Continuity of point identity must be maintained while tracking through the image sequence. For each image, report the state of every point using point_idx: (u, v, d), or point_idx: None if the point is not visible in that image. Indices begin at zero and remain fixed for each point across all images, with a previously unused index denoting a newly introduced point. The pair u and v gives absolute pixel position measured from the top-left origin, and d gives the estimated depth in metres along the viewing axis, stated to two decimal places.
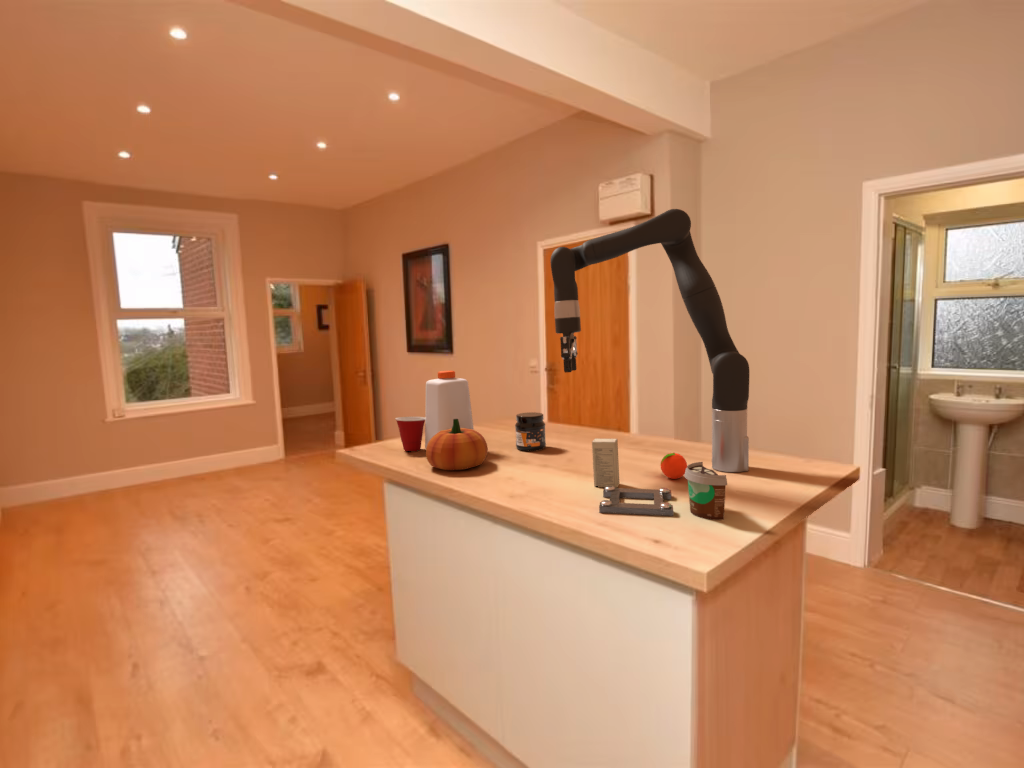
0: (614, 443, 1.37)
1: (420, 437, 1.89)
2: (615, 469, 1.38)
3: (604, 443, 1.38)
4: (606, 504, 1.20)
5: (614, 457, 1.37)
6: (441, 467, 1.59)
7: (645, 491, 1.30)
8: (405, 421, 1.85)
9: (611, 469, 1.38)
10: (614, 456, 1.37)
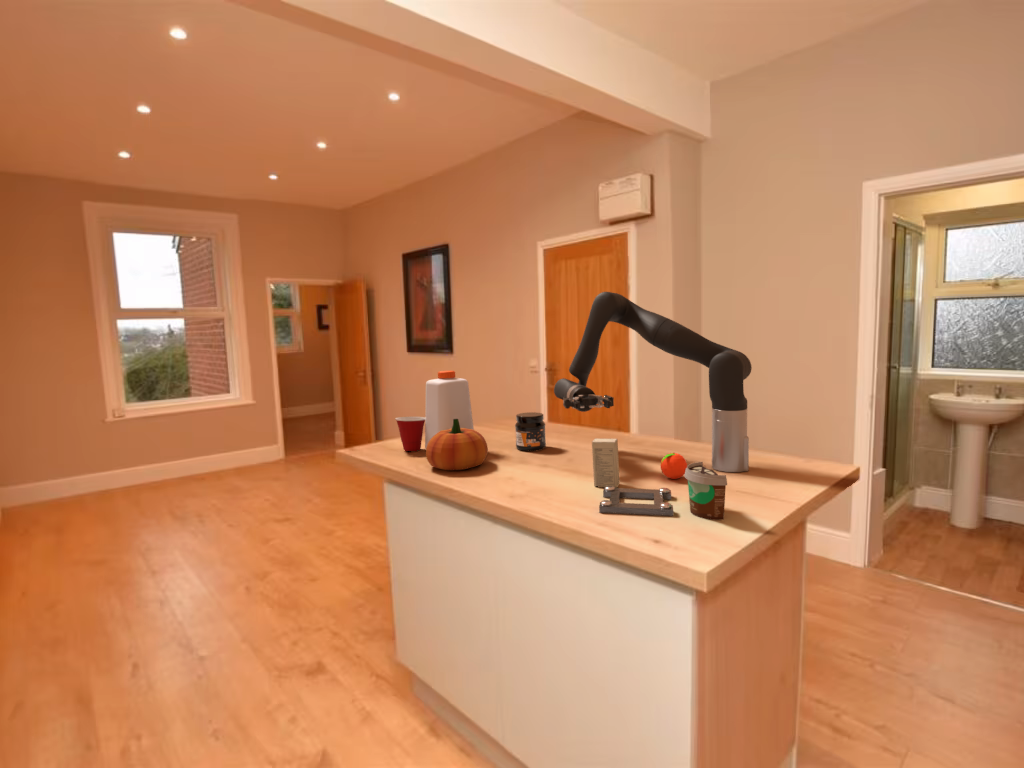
0: (614, 443, 1.37)
1: (420, 437, 1.89)
2: (615, 469, 1.38)
3: (604, 443, 1.38)
4: (606, 504, 1.20)
5: (614, 457, 1.37)
6: (441, 467, 1.59)
7: (645, 491, 1.30)
8: (405, 421, 1.85)
9: (611, 469, 1.38)
10: (614, 456, 1.37)
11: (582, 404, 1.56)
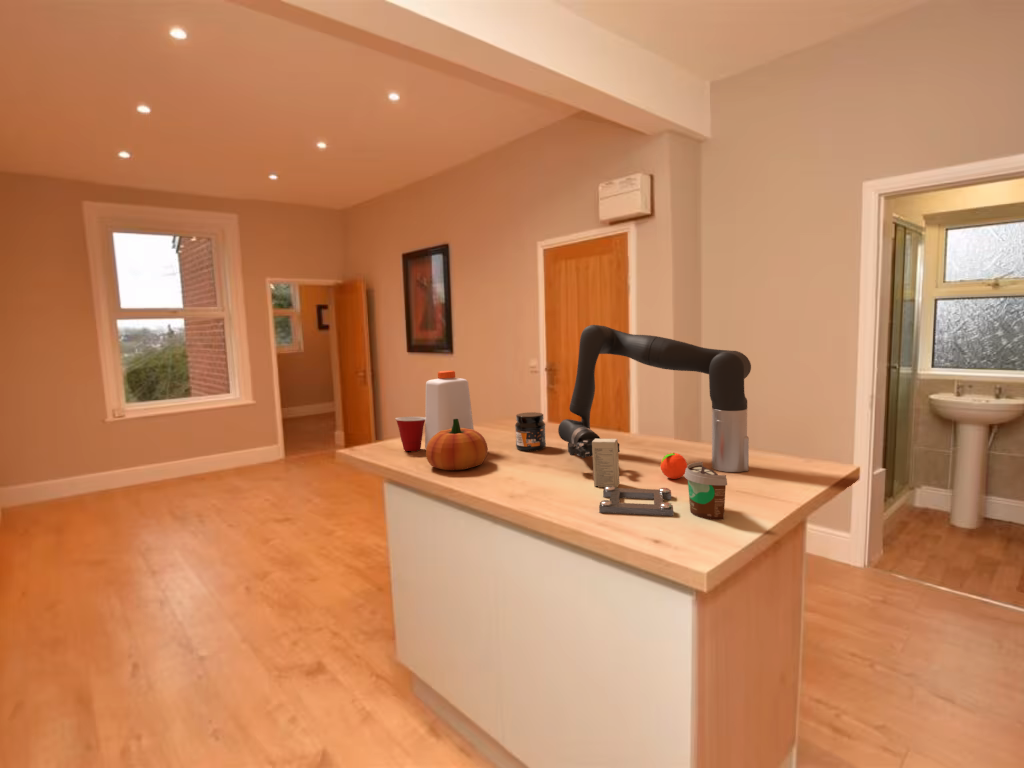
0: (614, 443, 1.37)
1: (420, 437, 1.89)
2: (615, 469, 1.38)
3: (604, 443, 1.38)
4: (606, 504, 1.20)
5: (614, 457, 1.37)
6: (441, 467, 1.59)
7: (645, 491, 1.30)
8: (405, 421, 1.85)
9: (611, 469, 1.38)
10: (614, 456, 1.37)
11: (587, 450, 1.53)
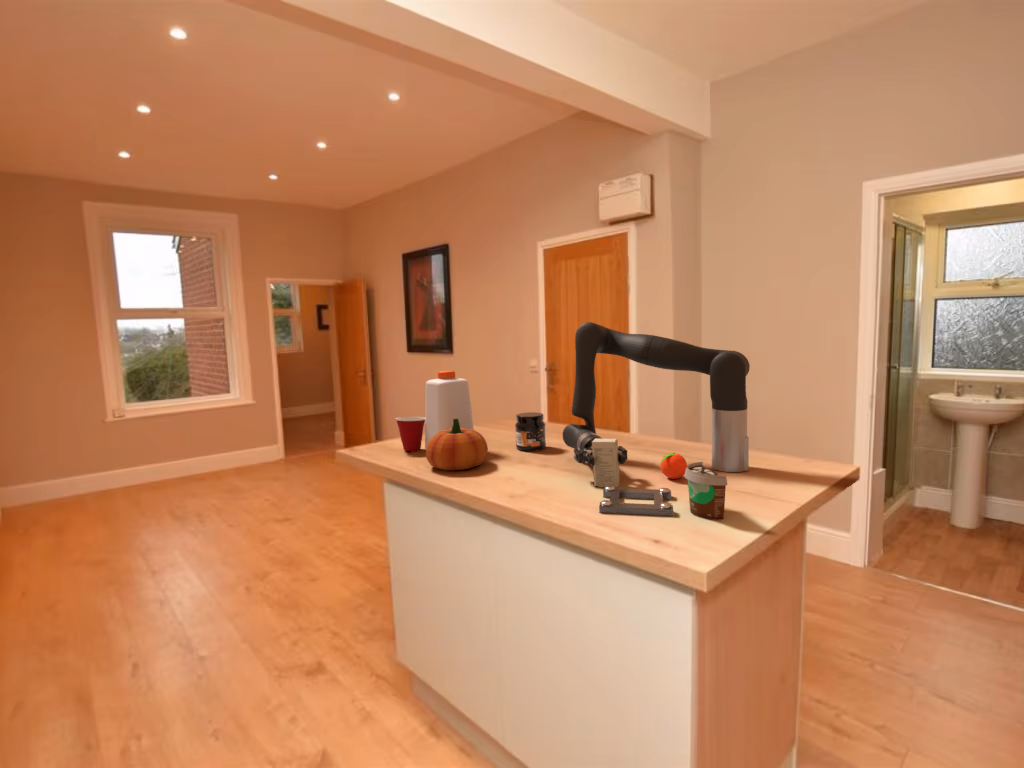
0: (614, 443, 1.37)
1: (420, 437, 1.89)
2: (615, 469, 1.38)
3: (604, 443, 1.38)
4: (606, 504, 1.20)
5: (614, 457, 1.37)
6: (441, 467, 1.59)
7: (645, 491, 1.30)
8: (405, 421, 1.85)
9: (611, 469, 1.38)
10: (614, 456, 1.37)
11: None
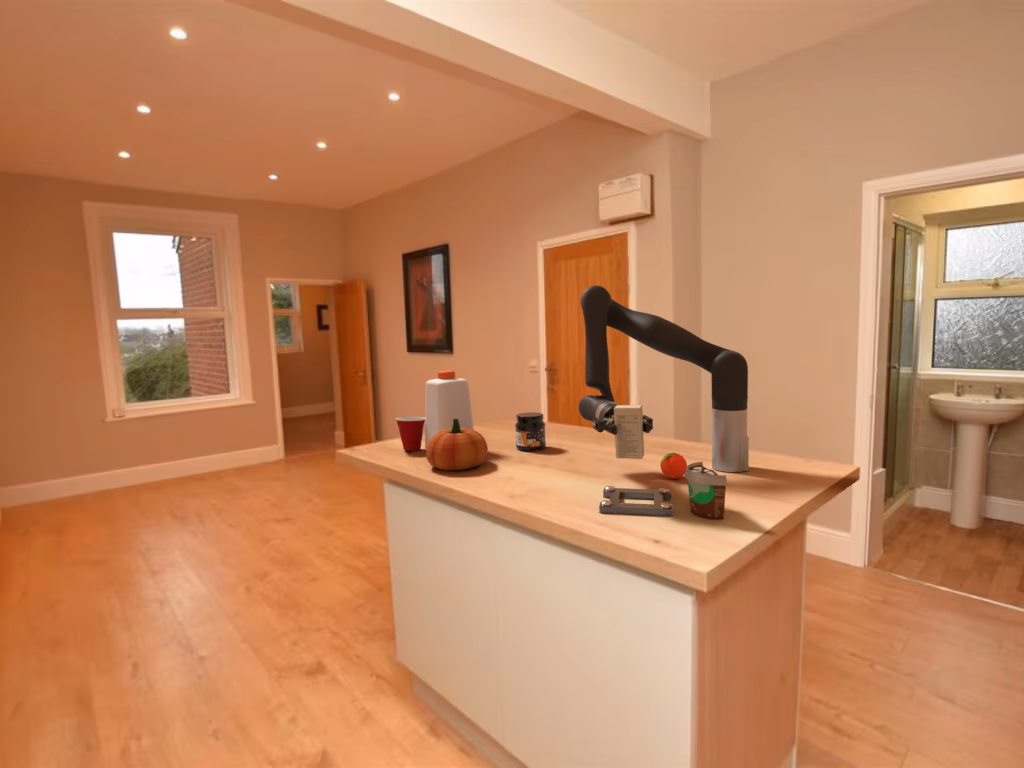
0: (639, 409, 1.23)
1: (420, 437, 1.89)
2: (640, 438, 1.23)
3: (628, 409, 1.23)
4: (606, 504, 1.20)
5: (639, 425, 1.23)
6: (441, 467, 1.59)
7: (645, 491, 1.30)
8: (405, 421, 1.85)
9: (635, 439, 1.24)
10: (639, 424, 1.23)
11: None
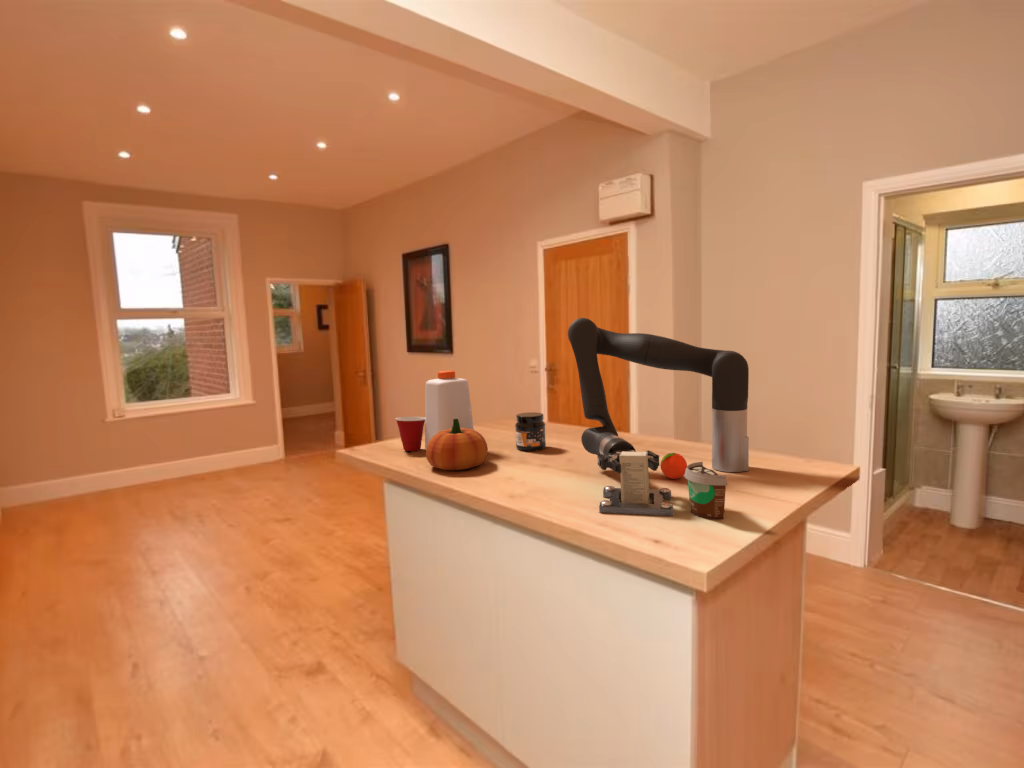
0: (645, 457, 1.22)
1: (420, 437, 1.89)
2: (646, 486, 1.22)
3: (633, 457, 1.22)
4: (606, 504, 1.20)
5: (645, 473, 1.22)
6: (441, 467, 1.59)
7: None
8: (405, 421, 1.85)
9: (641, 486, 1.23)
10: (645, 472, 1.22)
11: None
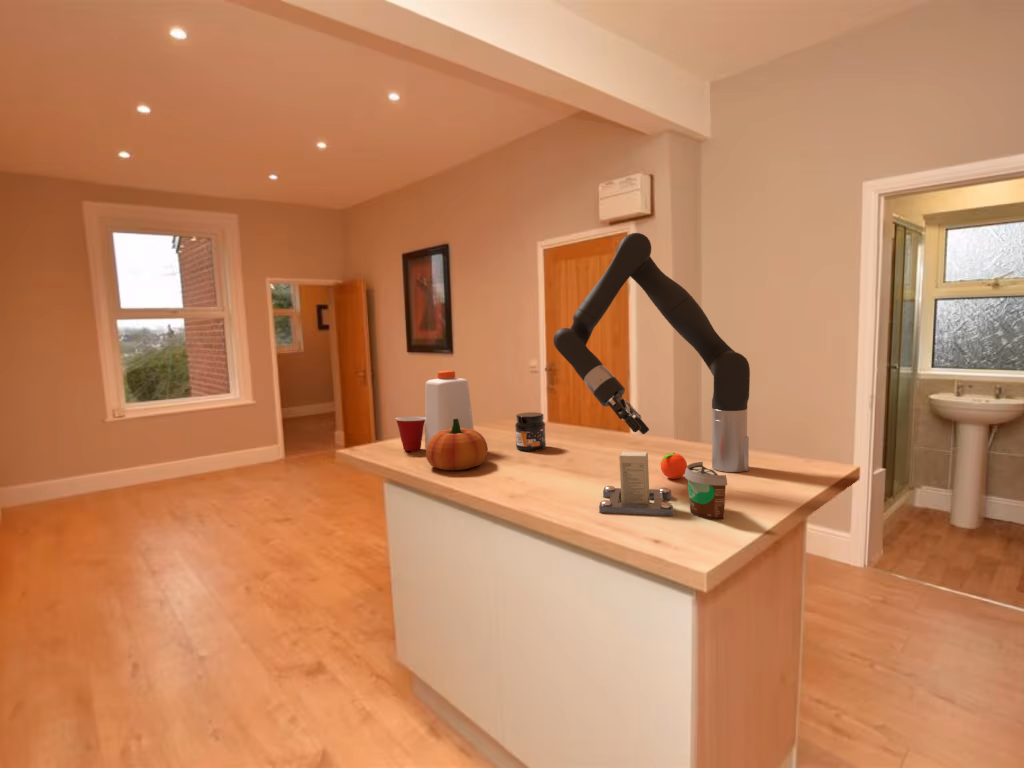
0: (645, 457, 1.22)
1: (420, 437, 1.89)
2: (646, 486, 1.22)
3: (633, 457, 1.22)
4: (606, 504, 1.20)
5: (645, 473, 1.22)
6: (441, 467, 1.59)
7: None
8: (405, 421, 1.85)
9: (641, 487, 1.23)
10: (645, 472, 1.22)
11: None
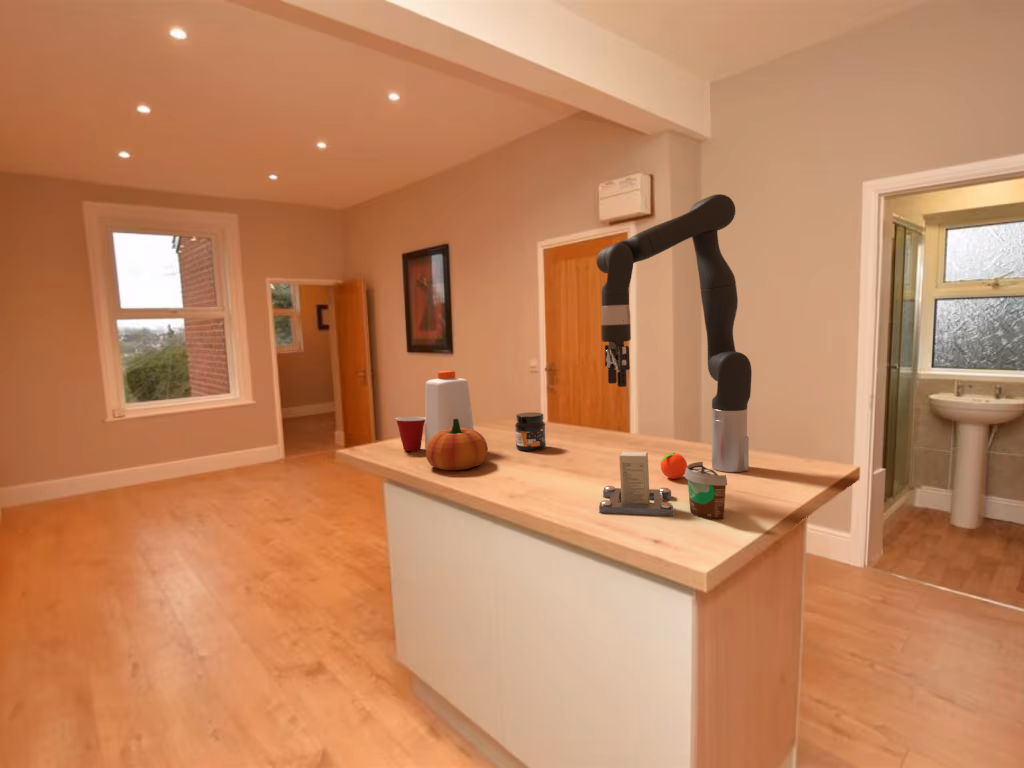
0: (645, 457, 1.22)
1: (420, 437, 1.89)
2: (646, 486, 1.22)
3: (633, 457, 1.22)
4: (606, 504, 1.20)
5: (645, 473, 1.22)
6: (441, 467, 1.59)
7: None
8: (405, 421, 1.85)
9: (641, 487, 1.23)
10: (645, 472, 1.22)
11: None
